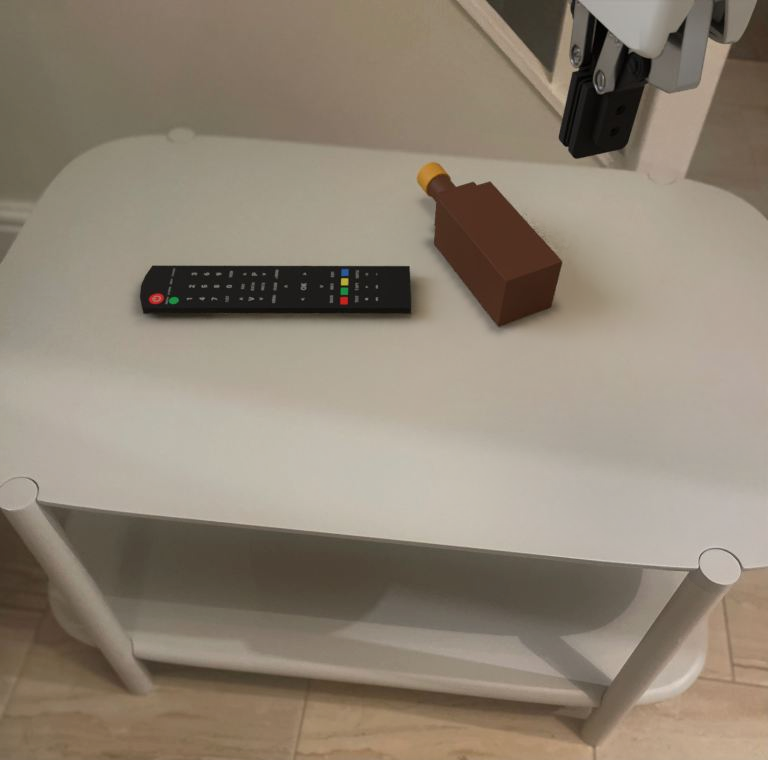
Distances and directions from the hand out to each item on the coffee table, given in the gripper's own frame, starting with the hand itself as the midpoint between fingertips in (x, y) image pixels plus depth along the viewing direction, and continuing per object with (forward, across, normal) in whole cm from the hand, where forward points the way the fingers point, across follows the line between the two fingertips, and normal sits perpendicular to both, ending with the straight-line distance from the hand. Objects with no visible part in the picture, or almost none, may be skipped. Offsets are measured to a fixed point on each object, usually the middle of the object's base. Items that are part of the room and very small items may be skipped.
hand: (591, 144), depth 41 cm
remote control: (+27, +21, +14) cm, 37 cm away
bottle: (+24, +12, -6) cm, 28 cm away
